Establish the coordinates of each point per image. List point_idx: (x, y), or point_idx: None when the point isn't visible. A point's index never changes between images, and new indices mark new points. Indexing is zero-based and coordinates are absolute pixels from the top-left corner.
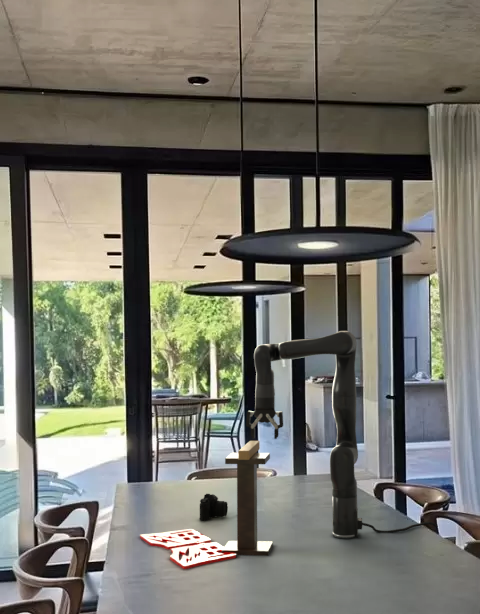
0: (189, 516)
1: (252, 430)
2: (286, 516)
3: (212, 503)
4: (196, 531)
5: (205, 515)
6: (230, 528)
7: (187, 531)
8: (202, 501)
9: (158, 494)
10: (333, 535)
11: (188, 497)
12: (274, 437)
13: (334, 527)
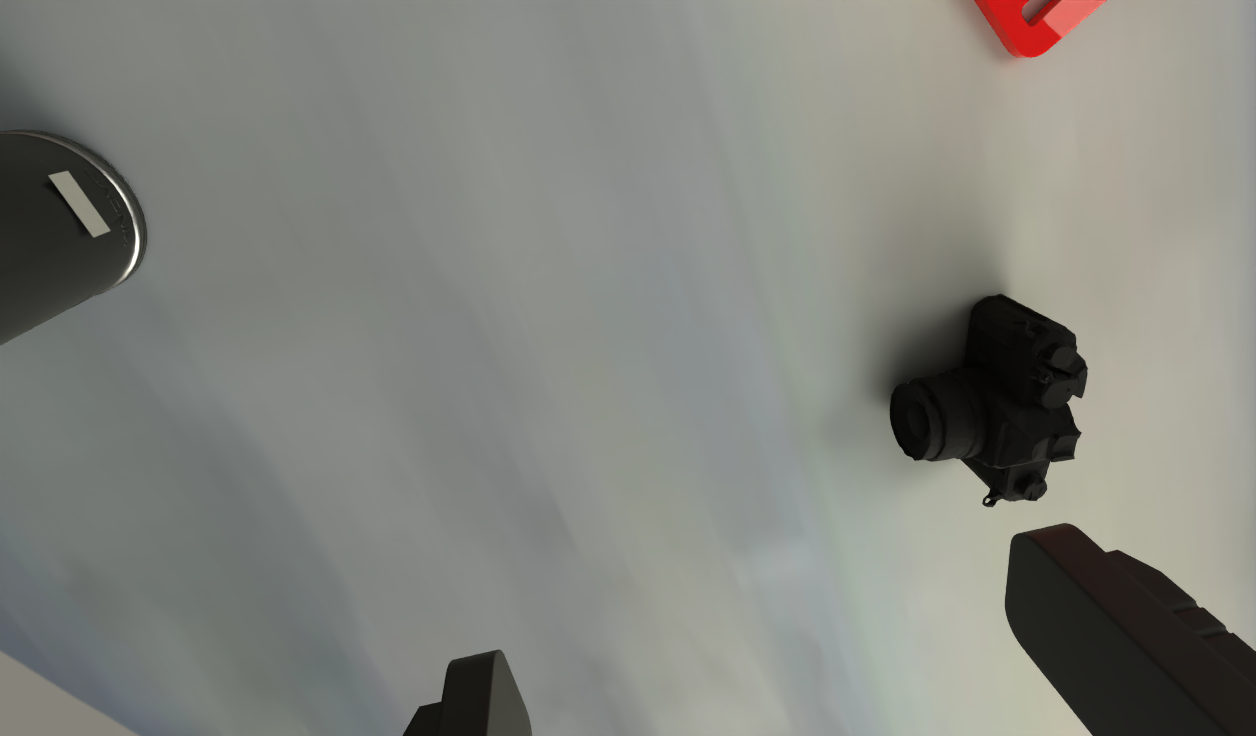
0: None
1: (1253, 711)
2: (585, 498)
3: (1000, 397)
4: (993, 4)
5: (997, 309)
6: (810, 192)
7: (1048, 8)
8: (1070, 348)
9: None
10: (111, 169)
11: None
12: (489, 671)
13: (61, 168)
